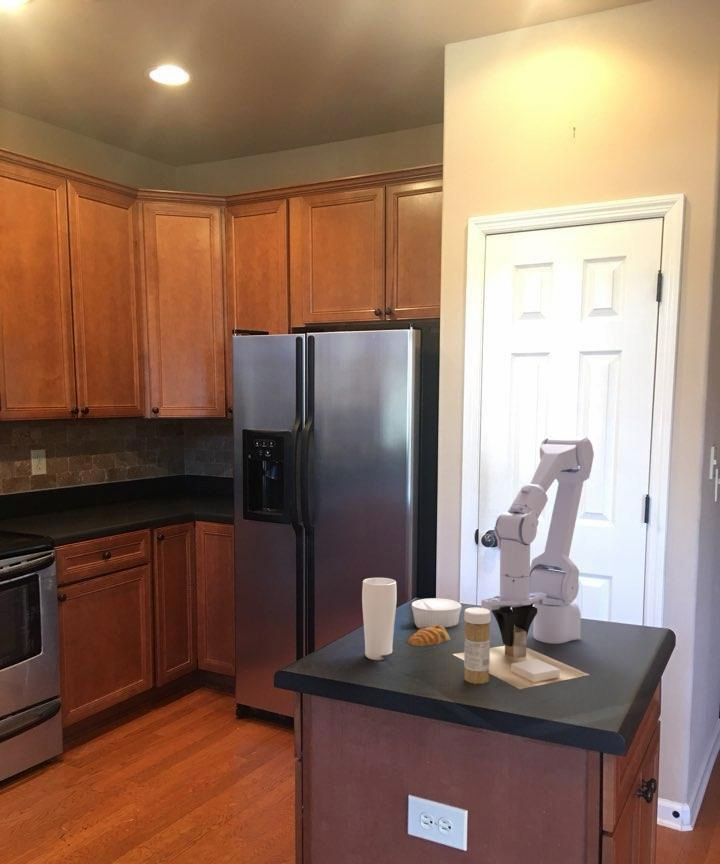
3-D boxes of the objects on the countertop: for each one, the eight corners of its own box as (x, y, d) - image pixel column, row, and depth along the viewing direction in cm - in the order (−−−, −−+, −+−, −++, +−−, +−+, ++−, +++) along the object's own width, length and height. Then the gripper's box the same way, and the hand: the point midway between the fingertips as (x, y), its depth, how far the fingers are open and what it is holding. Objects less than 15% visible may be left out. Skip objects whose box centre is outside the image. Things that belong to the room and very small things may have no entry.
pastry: (423, 655, 141) (423, 636, 141) (398, 648, 146) (398, 629, 146) (453, 645, 148) (453, 627, 148) (428, 638, 153) (428, 621, 153)
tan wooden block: (515, 651, 140) (515, 626, 140) (526, 656, 137) (526, 630, 137) (504, 653, 139) (505, 627, 139) (515, 658, 136) (515, 632, 136)
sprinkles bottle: (477, 679, 128) (478, 605, 128) (495, 687, 124) (496, 611, 124) (458, 684, 125) (459, 608, 125) (475, 692, 121) (476, 614, 121)
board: (517, 649, 145) (517, 643, 145) (589, 681, 127) (589, 674, 127) (452, 660, 138) (452, 654, 138) (519, 696, 120) (519, 689, 120)
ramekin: (401, 626, 162) (401, 603, 161) (433, 617, 169) (434, 595, 169) (438, 637, 153) (438, 613, 153) (471, 627, 161) (471, 604, 161)
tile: (537, 658, 131) (560, 669, 126) (536, 667, 131) (559, 677, 126) (511, 663, 128) (533, 674, 123) (511, 672, 128) (533, 683, 123)
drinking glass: (402, 656, 140) (403, 581, 140) (380, 665, 135) (381, 586, 135) (377, 649, 144) (378, 575, 144) (354, 656, 139) (355, 580, 139)
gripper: (498, 581, 131) (497, 654, 132) (557, 575, 138) (556, 644, 138) (475, 574, 138) (474, 644, 138) (533, 568, 144) (532, 634, 145)
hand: (513, 643), depth 138 cm, fingers closed on tan wooden block, 2 cm apart
